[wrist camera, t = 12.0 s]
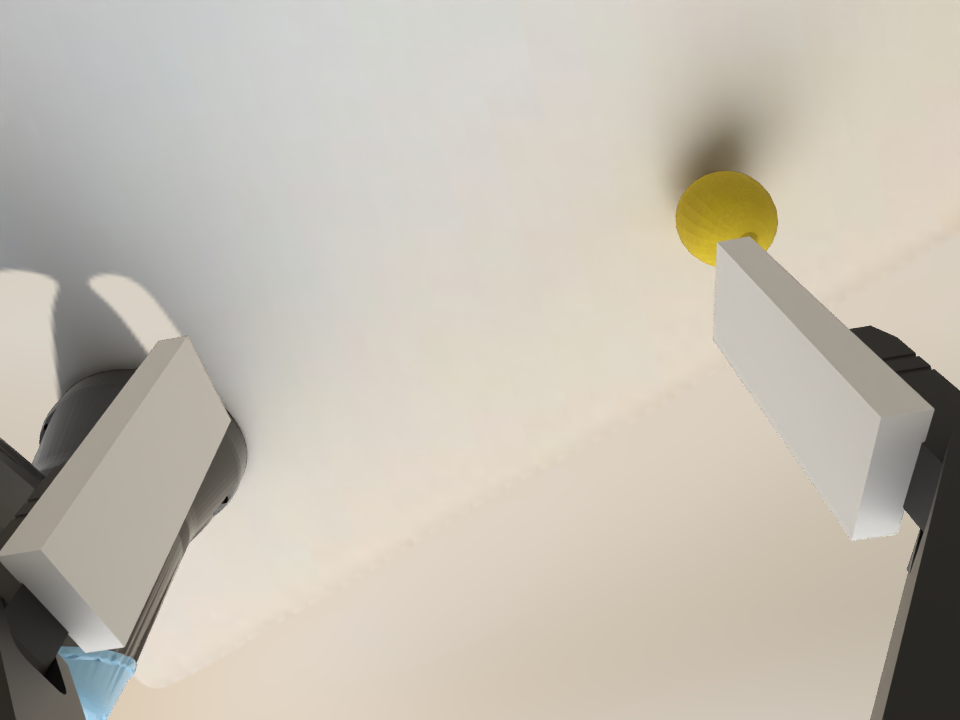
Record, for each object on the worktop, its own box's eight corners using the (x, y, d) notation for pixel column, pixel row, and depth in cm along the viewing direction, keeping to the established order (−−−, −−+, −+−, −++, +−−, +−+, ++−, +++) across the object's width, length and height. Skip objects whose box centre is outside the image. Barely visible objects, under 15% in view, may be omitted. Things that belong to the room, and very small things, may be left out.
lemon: (679, 148, 40) (725, 188, 33) (758, 165, 40) (818, 207, 34) (649, 229, 42) (685, 280, 36) (723, 243, 43) (772, 296, 37)
